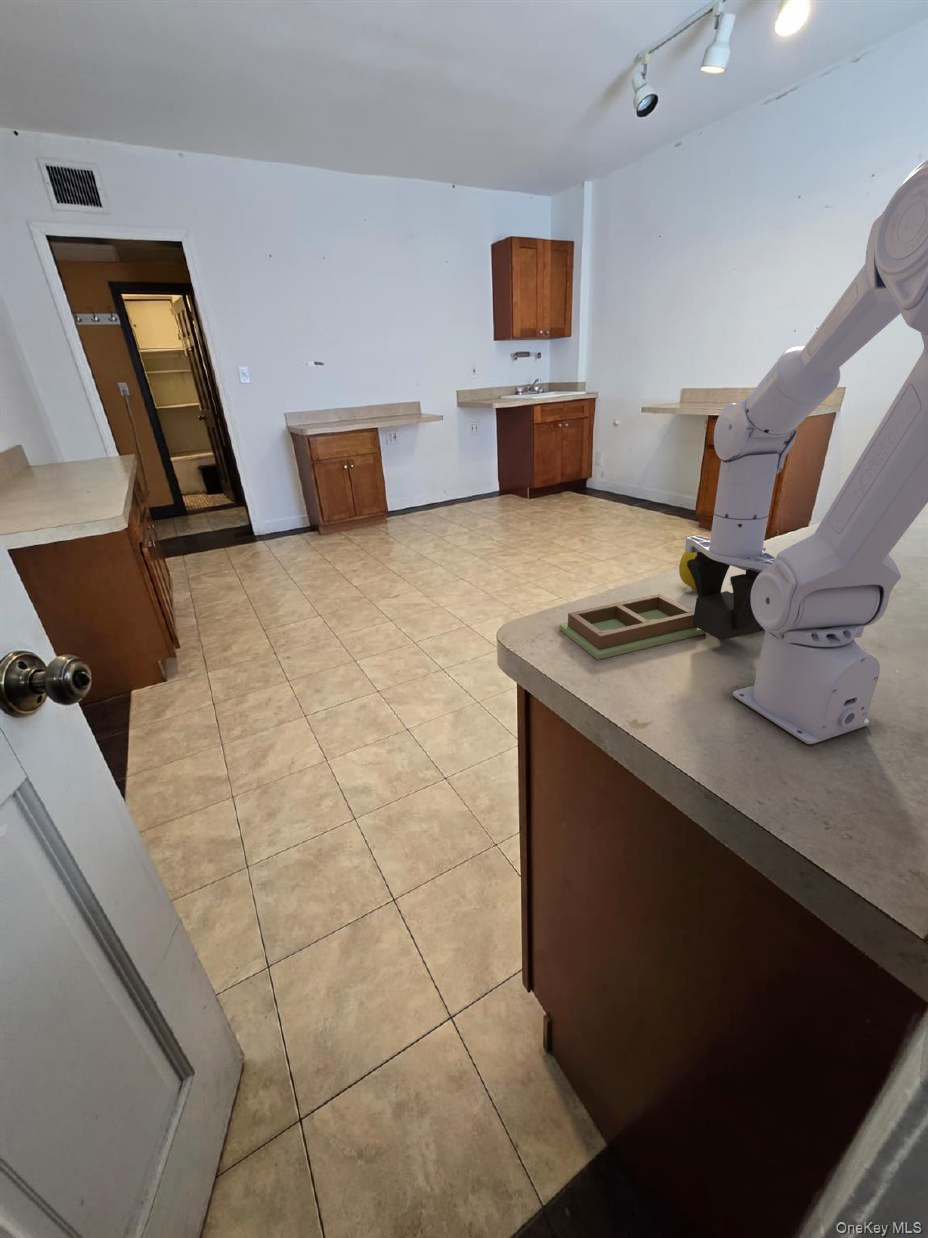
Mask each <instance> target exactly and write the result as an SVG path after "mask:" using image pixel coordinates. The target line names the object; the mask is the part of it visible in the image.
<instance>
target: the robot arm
mask: <svg viewBox="0 0 928 1238" xmlns="http://www.w3.org/2000/svg"><path fill="white" fill-rule="evenodd" d="M887 203H888V204H887V205H886V206H885V209H884V210H883V211H882V213H880V214H879V215H878V217H876V219H875V220H874V221H873V223H872V225H871V228H870V232H869V236H868V239H867V244H866V251H865V260H864V261H865V262H864V265H863V266H862V267H861V269H860V270H859V271H858V273H857V274H856V275H855V277H854V278H853V279H852V281H851V282H850V284H849V285H848V286H847V288H846V289H845V291H844V292H843V293H842V294H841V296H840V297H839V299H838V300H837V301H836V303H835V304H834V306H833V307H832V309H831V310H830V311H829V313H828V314H827V315H826V317H825V318H824V320H823V322H822V323H821V324H820V325H819V326H818V328H817V329H816V331H815V332H814V334H813V335H812V336H811V338H810V339H809V341H808V342H807V343H806V345H798V346H794V347H792V348H790V349H787V350H785V351H783V353H782V354H781V356H779V357H778V359H777V360H776V362H775V363H774V364H773V366H772V367H771V368H770V369H769V370H768V372H767V373H766V374H765V376H764V377H763V378H762V379H761V380H760V382H759V383H758V384H757V385H756V387H755V388H754V389H753V391H752V392H751V393H750V394H749V395H748V397H747V398H746V399H741V400H738V401H737V402H736V403H729V404H726V405H725V406H724V407H723V408H722V410H721V412H720V413H719V415H718V416H717V420H716V422H715V425H714V429H713V447H714V451H715V453H716V456H717V457H718V458H719V459H720V465H719V472H718V473H719V474H718V480H717V489H716V496H715V503H714V510H713V519H712V525H711V532H710V537H707V536H702V535H700V534H699V535H693V536H688V537H687V536H686V538H685V545H684V552H685V551H686V552H688V553H694V552H695V553H697V557H695V559H691V560H688V561H687V567H688V569H689V570H690V572H691V574H692V577H693V579H694V582H695V586H696V590H695V591H696V594H697V598H698V597H702V596H707V595H711V594H716V593H721V592H722V588H723V584H724V581H725V579H726V575H727V573H728V571H729V570H730V567H734V568H737V569H740V570H742V571H745V573H741V574H737V575H736V574H735V575H732V576H729V577H730V578H729V580H730V584H731V588H732V593H733V597H734V607H733V615H732V625H733V628H734V629H736V630H739V629H743V628H747V627H749V626H750V624H751V622H752V620H753V618H754V616H755V618H756V620H757V621H758V623H759V624H760V625H761V626H762V627H763V628H764V629H765V630H764V635H763V639H762V644H761V650H760V654H759V658H758V659H759V660H758V664H757V669H756V674H755V679H754V684H753V685H750V686H746V687H743V688H739V689H736V690H734V691H732V697H734V698H735V699H737V701H740V702H741V703H743V704H744V705H746V706H747V707H749V708H751V709H752V710H753V711H755V712H757V713H758V714H760V715H761V716H763V717H765V718H766V719H768V720H769V721H770V722H773V723H774V724H776V725H777V726H779V727H780V728H781V729H783V730H785V731H786V732H788V733H789V734H791V735H792V736H794V737H796V738H797V739H799V740H800V741H802V742H803V743H804V744H807V745H814V744H817V743H820V742H823V741H826V740H829V739H831V738H835V737H837V736H840V735H843V734H847V733H850V732H852V731H855V730H858V729H862V728H864V727H867V726H869V724H870V720H869V719H868V718H867V715H868V712H869V708H870V706H871V702H872V699H873V696H874V694H875V693H874V692H875V690H876V687H877V684H878V681H879V677H880V672H881V666H880V662H879V660H878V659H877V658H876V657H875V656H873V655H871V654H869V652H867V651H865V650H864V649H863V648H862V647H861V646H860V645H859V644H858V643H857V642H856V640H855V639H857V638H862V636H863V633H864V630H865V627H868V626H872V625H873V624H875V623H877V622H879V620H880V619H882V617H883V616H884V614H885V613H886V610H887V608H888V605H889V600H890V595H891V594H892V591H893V589H894V588H895V586H896V584H897V583H898V582H899V581H900V580H901V579H902V574H901V572H900V570H899V568H898V565H897V563H896V562H895V560H894V559H893V558H892V557H891V555H890V553H891V551H892V550H893V549H894V548H895V546H896V545H897V543H898V542H899V541H900V540H901V538H902V537H903V536H904V534H905V533H906V532H907V531H908V529H909V528H910V526H912V524H913V523H914V521H915V520H916V519H917V518H918V516H919V515H920V514H921V512H922V510H923V509H924V508H925V507H926V506H927V504H928V159H926V160H924V161H923V162H922V163H920V164H919V165H918V166H916V168H914V169H913V170H912V171H911V172H910V173H909V174H908V176H906V178H905V179H904V180H903V181H902V183H901V184H900V185H899V187H898V188H896V190H895V192H894V193H893V195H892V197H891V198H890V200H889V202H887ZM899 315H901V317H902V318H903V320H904V322H905V324H906V325H907V326H908V327H910V328H912V329H914V330H915V331H917V332H919V333H920V335H921V340H922V343H923V350H922V353H921V354H920V356H919V358H918V359H917V360H916V362H915V364H914V366H913V368H912V369H911V371H910V372H909V374H908V376H907V377H906V379H905V381H904V383H902V384H903V385H902V386H901V387H900V389H899V391H898V392H897V395H896V396H895V398H894V399H893V401H892V403H891V405H890V406H889V408H888V409H887V411H886V413H885V415H884V416H883V417H882V420H881V421H880V423H879V424H878V426H877V428H876V429H875V431H874V433H873V435H872V436H871V438H870V439H869V441H868V443H867V445H866V446H865V448H864V450H863V451H862V453H861V455H860V456H859V458H858V460H856V463H855V464H854V466H853V468H852V470H851V471H850V473H849V475H848V476H847V478H846V480H845V482H844V483H843V485H842V487H841V488H840V490H839V492H838V493H837V495H836V497H835V498H834V500H833V502H832V503H831V505H830V506H829V508H828V510H827V512H826V513H825V514H824V516H823V519H822V520H821V522H820V524H819V525H818V527H817V528H816V530H815V532H814V533H813V534H811V535H809V536H807V537H805V538H803V539H802V540H800V541H798V542H796V543H794V544H791V545H790V546H788V547H787V548H785V549H783V550H781V551H780V552H778V553H777V554H776V556H774V555H772V554H771V553H769V552H767V551H766V550H767V547H766V546H765V545H764V543H765V542H764V541H765V537H766V534H767V533H766V531H767V527H768V520H769V516H770V510H771V505H772V499H773V494H774V489H775V483H776V478H777V474H779V473H781V471H782V470H783V469H784V466H785V461H786V457H787V455H788V453H789V452H790V451H791V449H792V447H793V446H794V444H795V442H796V439H797V435H798V430H797V429H796V428H797V427H798V426H800V424H801V423H803V422H804V421H805V420H806V419H807V418H808V417H809V416H810V415H811V414H812V413H813V412H814V411H815V410H816V409H817V408H818V407H819V406H820V405H821V404H822V403H823V402H824V401H825V400H826V399H827V398H828V397H829V396H831V395H832V394H833V393H834V391H835V390H836V389H837V388H838V385H839V384H840V380H841V370H840V368H841V367H842V366H843V365H844V364H845V363H846V362H848V360H850V359H851V358H852V357H853V356H855V354H857V353H858V352H859V351H860V350H861V349H862V348H863V347H864V346H866V345H867V344H868V343H869V342H870V341H871V340H872V339H874V337H876V336H877V335H878V334H879V333H880V332H881V331H883V330H884V329H885V328H886V327H887V326H888V325H889V324H890V323H891V322H892V321H894V320H895V319H896V318H897V317H898V316H899Z"/></svg>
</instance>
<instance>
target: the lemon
mask: <svg viewBox="0 0 928 1238" xmlns="http://www.w3.org/2000/svg"><path fill="white" fill-rule="evenodd" d="M695 557H697V553H695V552H694V553H688V552H686V551H685V550H684V552H683V554H682V556H681V558H680V561H679V567H678V573H679V577H680V579H681V581H682V582H683V583H684V585H686V586H687V587H690V588H691V589H692V590H693V591H697V590H696V586H695V582H694V579H693V577H692V574H691V572H690V570H689V569H688V567H687V561H688V560H691V559H695Z"/></svg>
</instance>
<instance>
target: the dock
mask: <svg viewBox="0 0 928 1238" xmlns="http://www.w3.org/2000/svg"><path fill="white" fill-rule="evenodd" d="M694 613H695V610H692V609H691V608H688V607H686V606H684V605H683V604H680V603H679V602H677V601H675V600H672V599H671V598H669V597H667V596H664V595H662V594H661V593H657V594H656V593H655V594H652V595H646V596H643V597H638V598H633V599H629V600H628V599H627V600H624V601H619V602H613V603H610V604H605V605H600V606H595V607H591V608H586V609H582V610H576V611H572V612H568V613H567V622H565V623H560V624H559V631H561V632H562V633H564V634H565V635H566V636H567V637H569V639H571V640H572V641H573V642H575V643H576V644H577V645H578V646H580V648H582V649H583V650H585V651H586V652H587V653H589V655H591V656H592V657H593V658H594V659H596V660H597V661H599V660H603V659H607V658H612V657H615V656H616V657H617V656H619V655H624V654H628V653H632V652H637V651H640V650H644V649H648V648H653V647H657V646H661V645H664V644H668V643H673V642H677V641H681V640H685V639H689V638H693V637H697V636H698V637H699V636H701V635H705V634H707V633H706V632H704V631H702V630H701V629H699V628H697V627H695V626H693V620H694Z"/></svg>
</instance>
